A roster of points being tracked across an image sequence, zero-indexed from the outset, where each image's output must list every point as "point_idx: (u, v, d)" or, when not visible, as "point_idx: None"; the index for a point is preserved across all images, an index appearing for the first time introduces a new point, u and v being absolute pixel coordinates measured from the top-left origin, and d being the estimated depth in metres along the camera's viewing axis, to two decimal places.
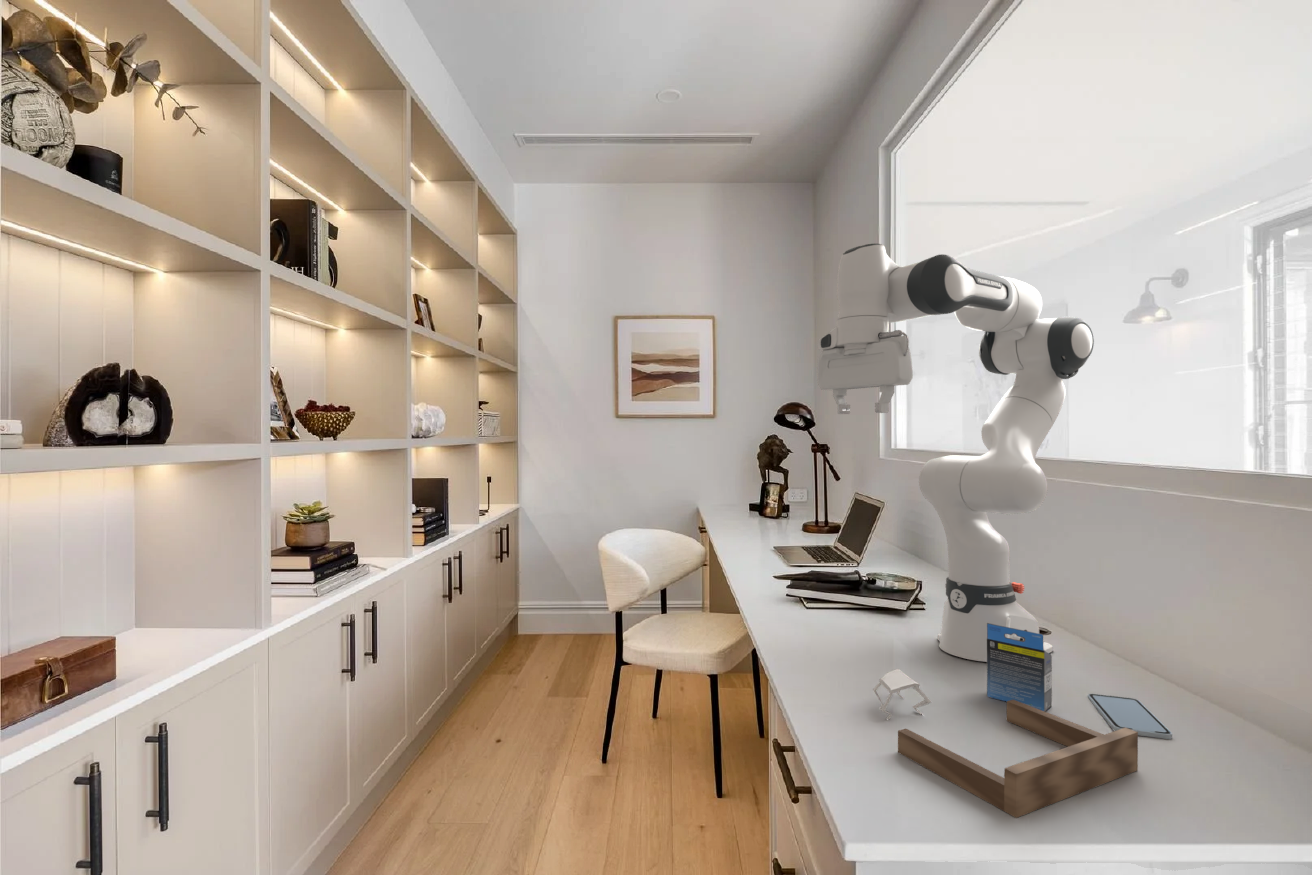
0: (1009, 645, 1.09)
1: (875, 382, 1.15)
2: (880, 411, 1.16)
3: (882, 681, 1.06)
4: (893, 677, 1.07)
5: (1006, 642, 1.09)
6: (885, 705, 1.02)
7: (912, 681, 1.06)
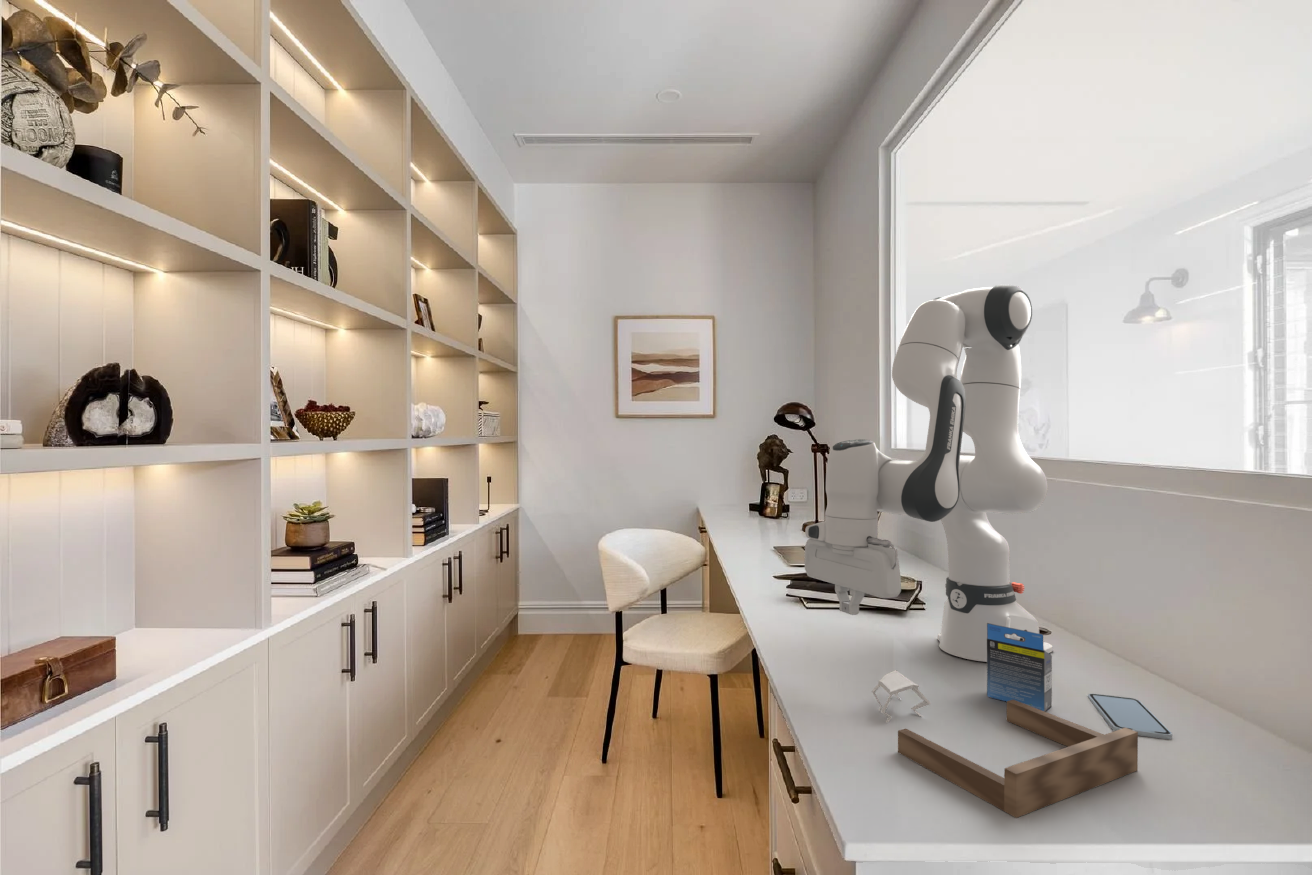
0: (1009, 645, 1.09)
1: (862, 589, 1.12)
2: (850, 613, 1.16)
3: (881, 683, 1.05)
4: (892, 679, 1.07)
5: (1006, 642, 1.09)
6: (885, 707, 1.01)
7: (911, 682, 1.05)
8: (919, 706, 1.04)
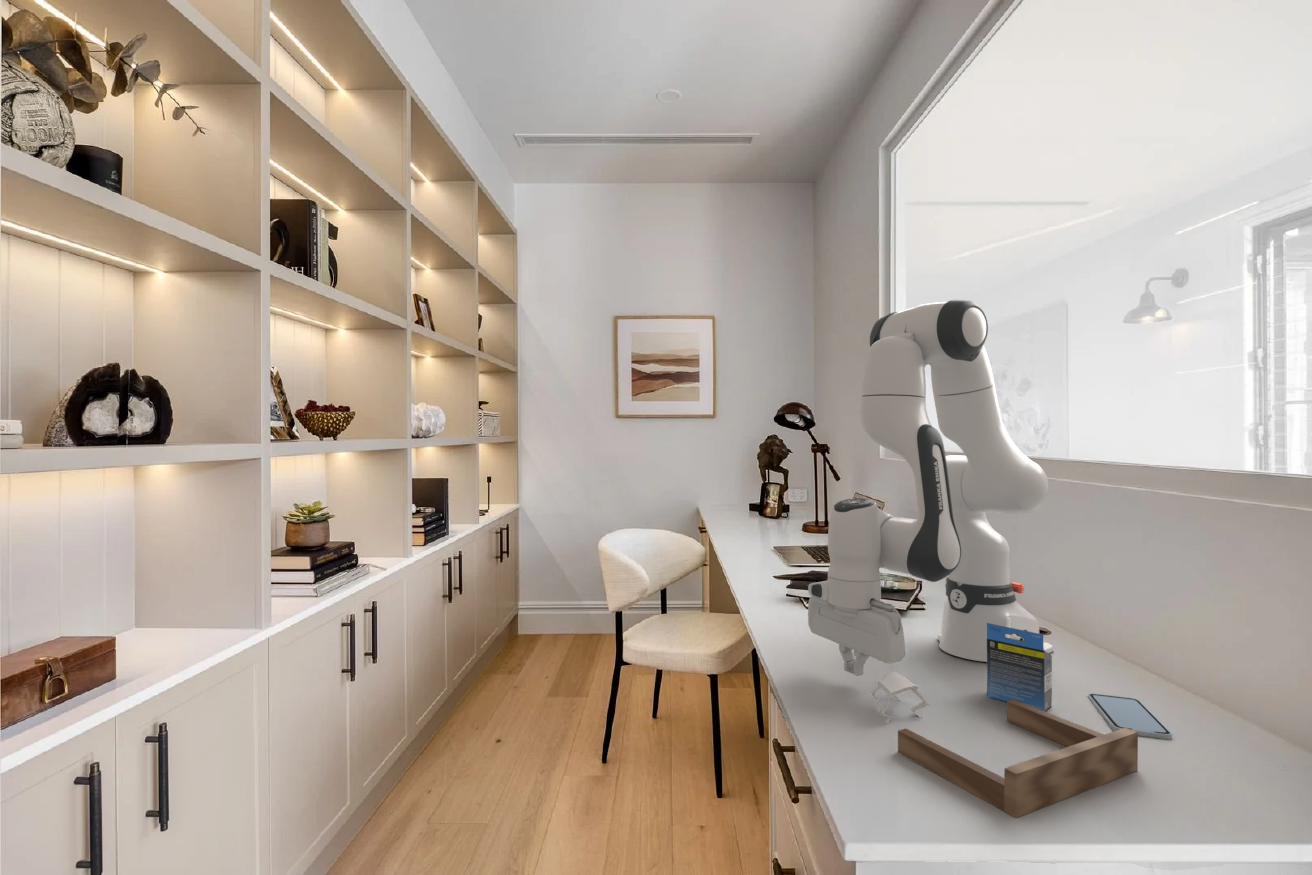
0: (1009, 645, 1.09)
1: (867, 652, 1.11)
2: (855, 674, 1.15)
3: (880, 684, 1.05)
4: (891, 679, 1.06)
5: (1006, 642, 1.09)
6: (885, 708, 1.01)
7: (910, 683, 1.05)
8: (919, 707, 1.04)
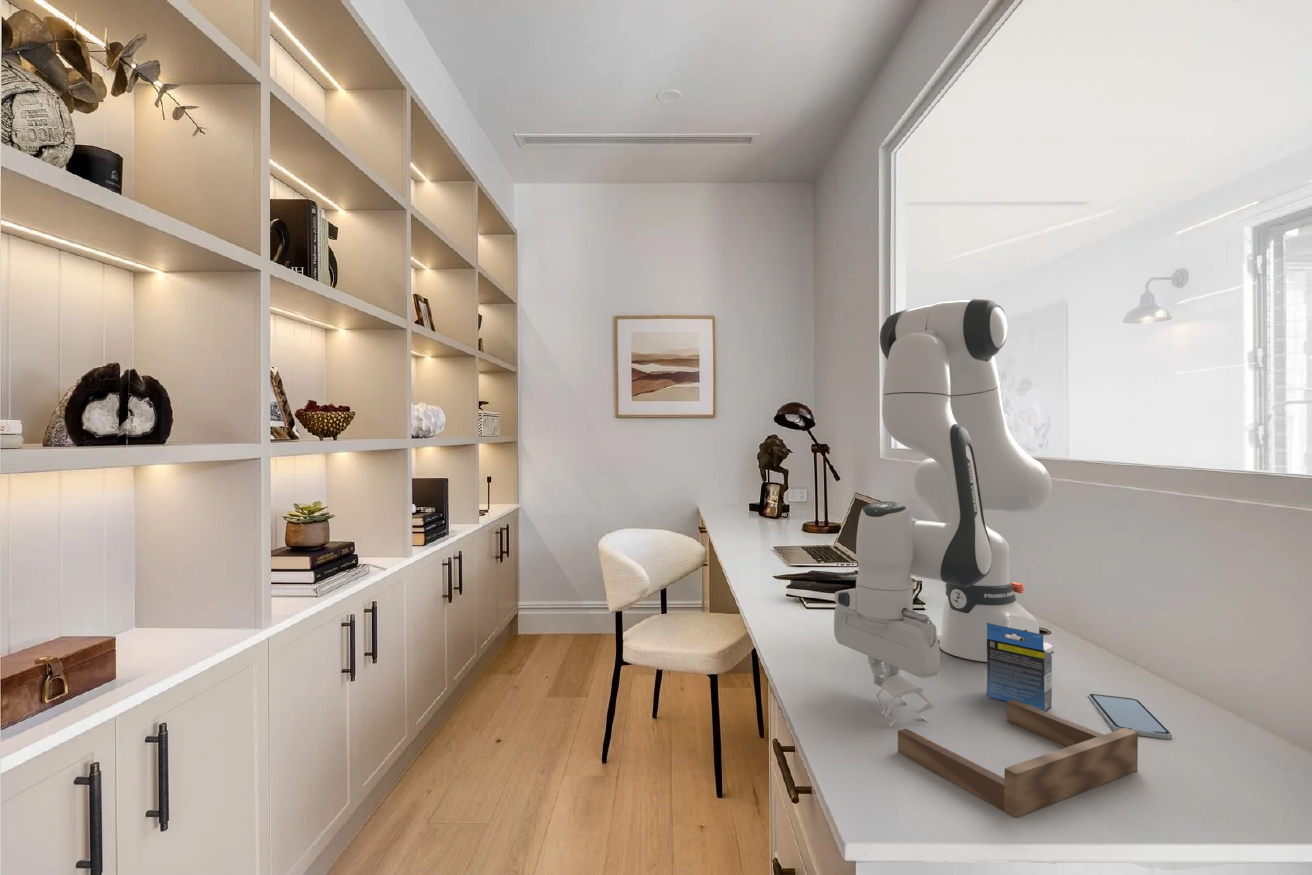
0: (1009, 645, 1.09)
1: (898, 666, 1.05)
2: None
3: (884, 686, 1.04)
4: (895, 681, 1.05)
5: (1006, 642, 1.09)
6: (888, 710, 1.00)
7: (915, 685, 1.03)
8: (923, 709, 1.03)
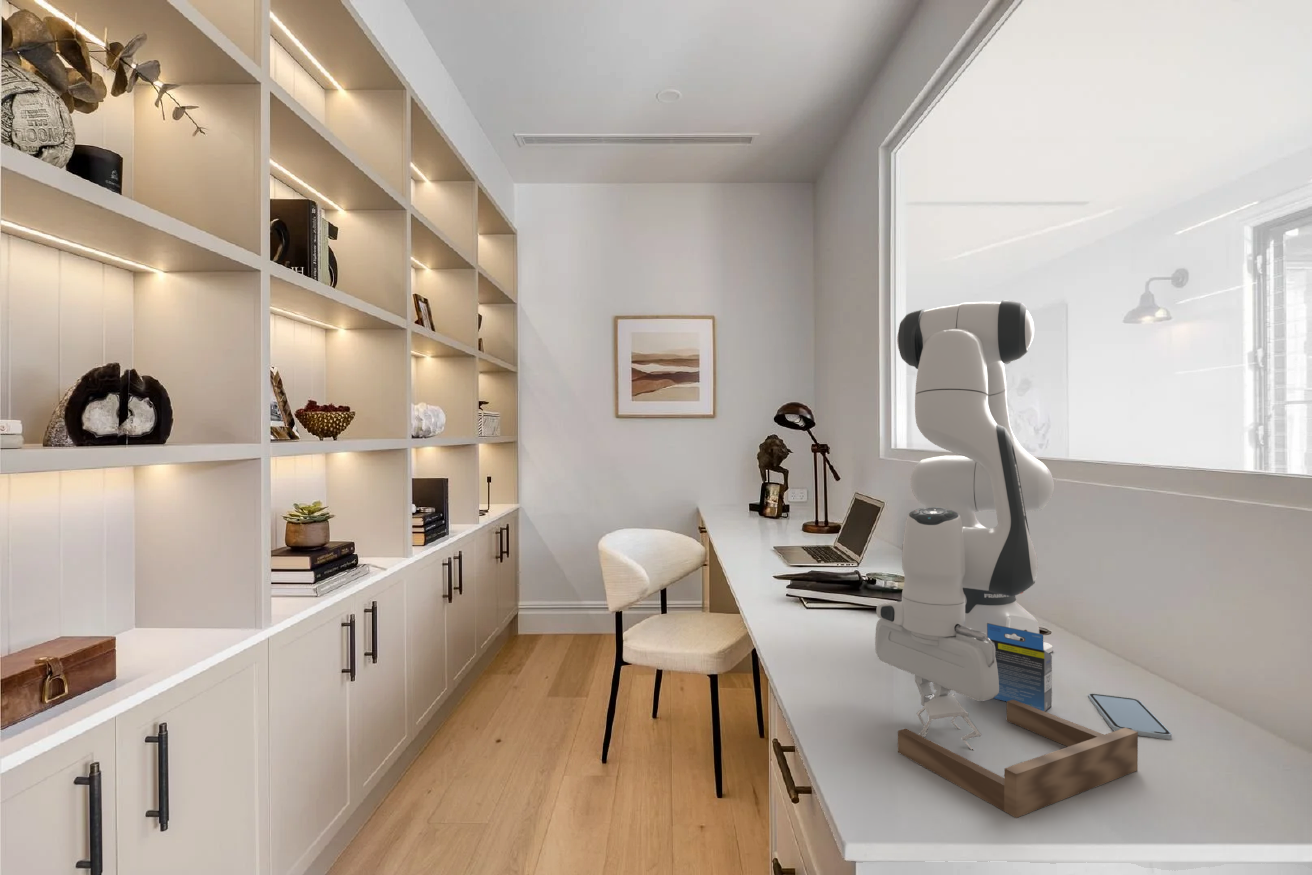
0: (1009, 645, 1.09)
1: (952, 687, 0.96)
2: None
3: (926, 705, 0.96)
4: (941, 702, 0.97)
5: (1006, 642, 1.09)
6: (922, 731, 0.93)
7: (961, 709, 0.95)
8: (969, 736, 0.94)
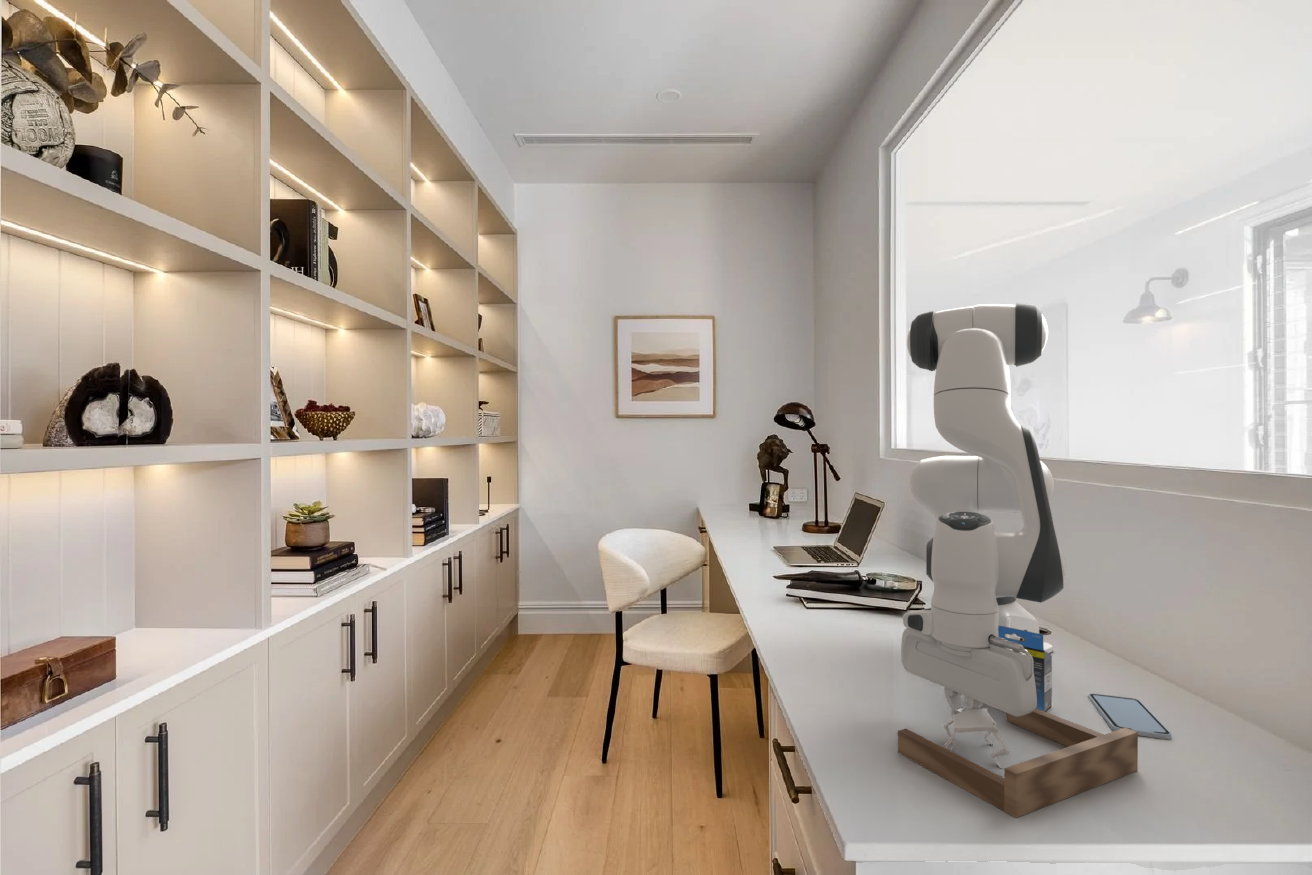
0: None
1: (986, 701, 0.92)
2: None
3: (953, 717, 0.92)
4: (970, 716, 0.92)
5: None
6: (946, 744, 0.89)
7: (991, 724, 0.90)
8: (998, 753, 0.89)
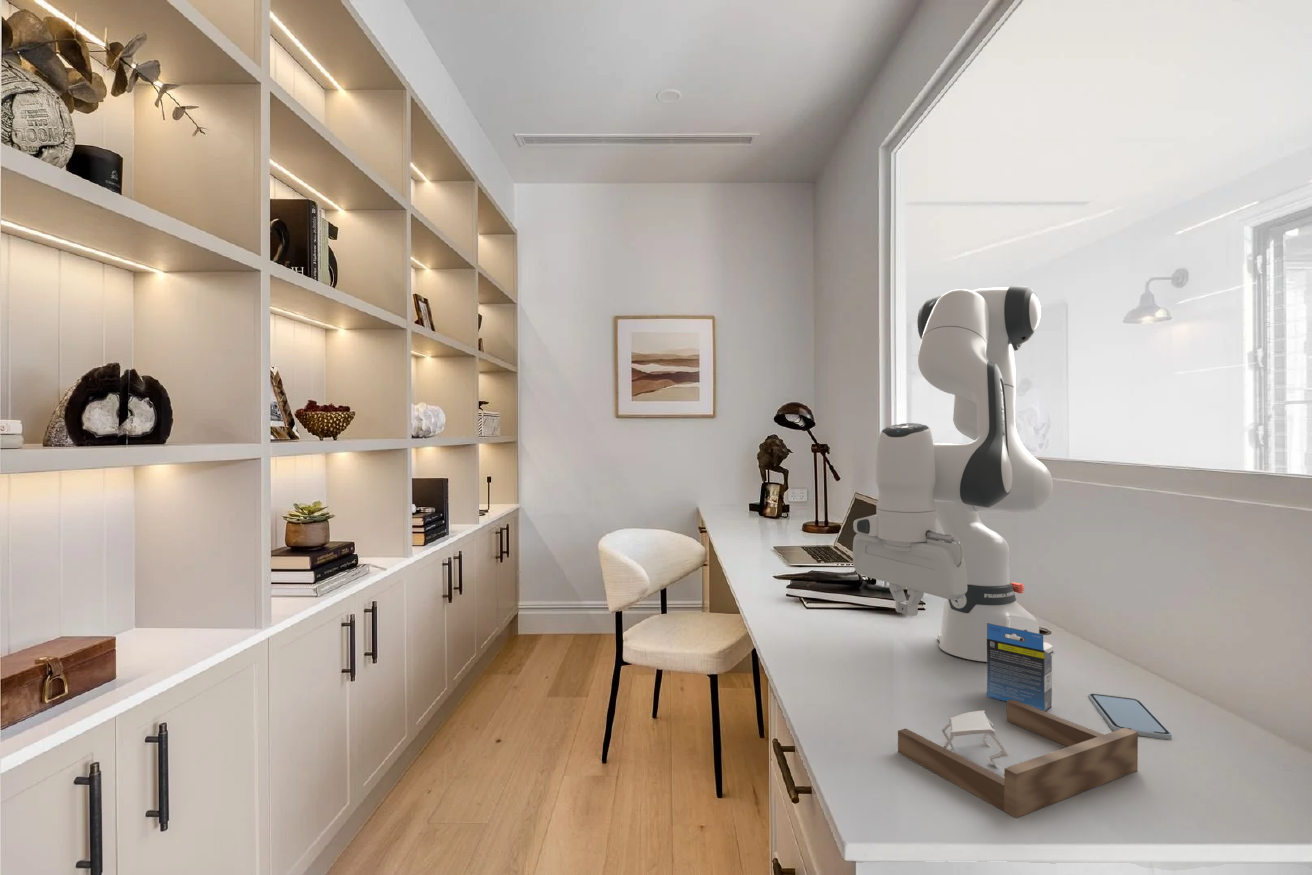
0: (1009, 645, 1.09)
1: (923, 589, 1.01)
2: (908, 614, 1.05)
3: (951, 721, 0.92)
4: (967, 718, 0.92)
5: (1006, 642, 1.09)
6: None
7: (988, 726, 0.89)
8: (996, 756, 0.88)
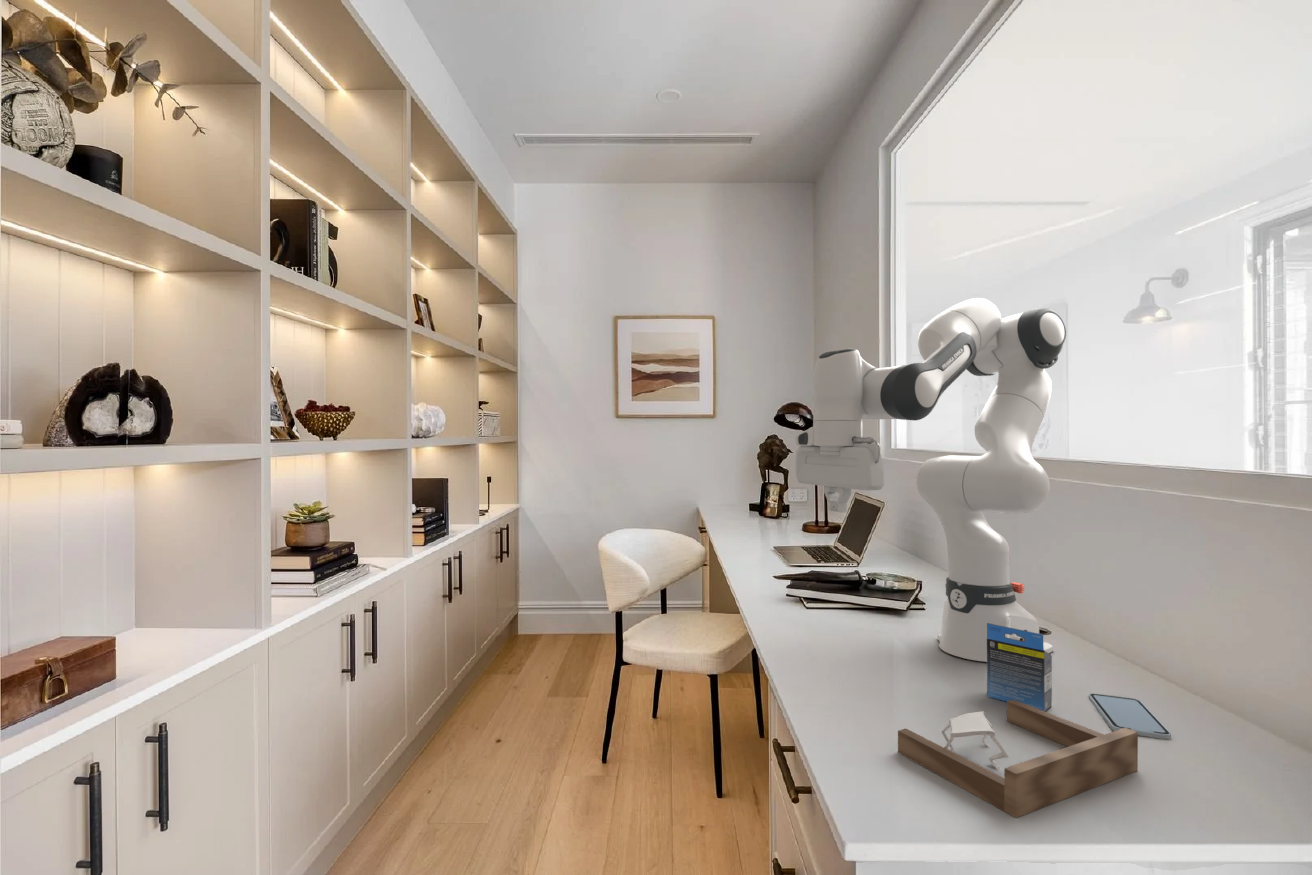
0: (1009, 645, 1.09)
1: (849, 485, 1.19)
2: (838, 511, 1.23)
3: (950, 722, 0.91)
4: (967, 720, 0.92)
5: (1006, 642, 1.09)
6: None
7: (987, 728, 0.89)
8: (996, 757, 0.88)
